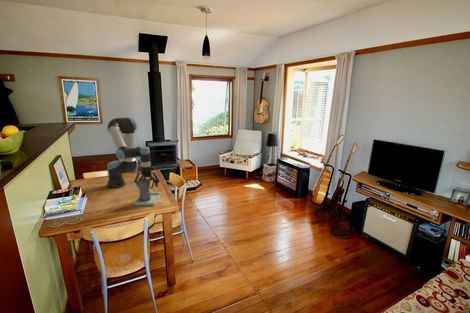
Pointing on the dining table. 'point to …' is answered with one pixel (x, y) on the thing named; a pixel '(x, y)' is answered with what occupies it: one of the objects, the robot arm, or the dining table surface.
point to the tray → (151, 202)
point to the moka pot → (145, 188)
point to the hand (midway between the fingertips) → (147, 190)
